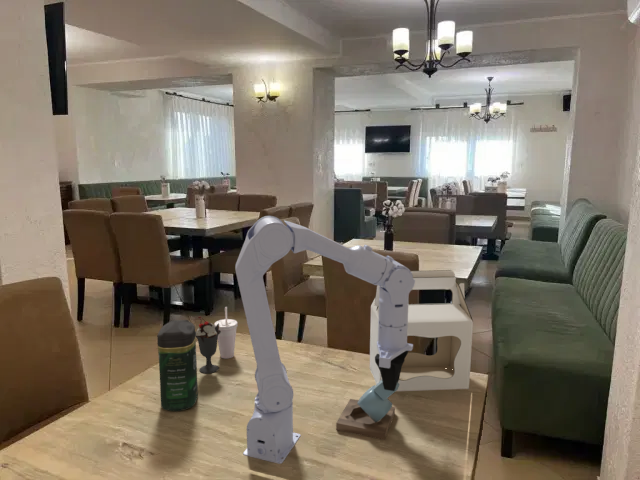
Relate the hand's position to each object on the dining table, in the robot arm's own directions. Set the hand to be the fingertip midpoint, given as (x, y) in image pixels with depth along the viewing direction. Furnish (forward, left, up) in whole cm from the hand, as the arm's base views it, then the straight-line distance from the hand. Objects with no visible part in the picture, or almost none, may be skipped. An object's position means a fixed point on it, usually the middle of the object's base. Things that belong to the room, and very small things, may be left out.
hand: (391, 386), depth 93 cm
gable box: (+24, -2, -10) cm, 26 cm away
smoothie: (+19, +50, -10) cm, 54 cm away
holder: (0, +5, -9) cm, 11 cm away
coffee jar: (-6, +47, -10) cm, 48 cm away
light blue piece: (0, 0, -5) cm, 5 cm away
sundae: (+10, +50, -10) cm, 52 cm away
